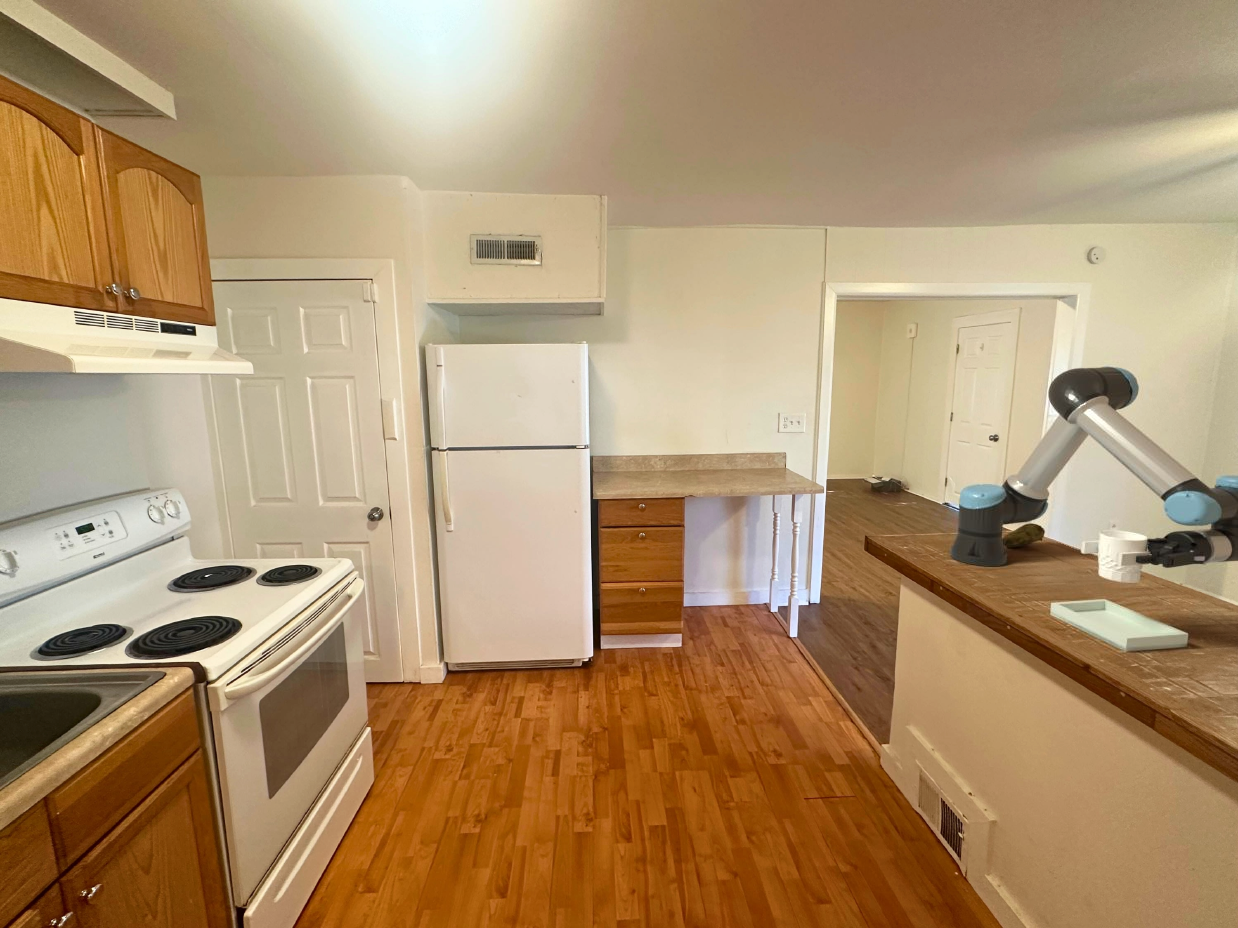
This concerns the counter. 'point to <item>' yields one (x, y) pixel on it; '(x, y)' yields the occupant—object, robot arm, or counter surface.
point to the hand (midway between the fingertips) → (1101, 553)
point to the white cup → (1109, 552)
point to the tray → (1119, 625)
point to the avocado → (1024, 536)
